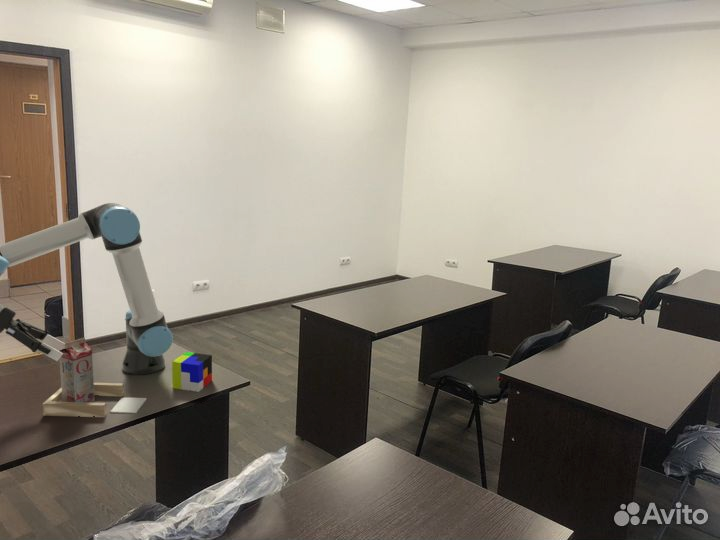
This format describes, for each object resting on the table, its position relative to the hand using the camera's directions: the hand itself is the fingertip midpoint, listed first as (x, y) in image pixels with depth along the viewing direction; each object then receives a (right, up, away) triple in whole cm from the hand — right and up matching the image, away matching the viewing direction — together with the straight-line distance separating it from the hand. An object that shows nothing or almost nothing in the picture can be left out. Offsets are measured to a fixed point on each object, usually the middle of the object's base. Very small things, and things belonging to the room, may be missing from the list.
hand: (62, 352), depth 171 cm
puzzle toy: (+34, -15, +24) cm, 44 cm away
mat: (+19, -18, +6) cm, 27 cm away
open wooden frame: (+5, -18, +5) cm, 19 cm away
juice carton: (+3, -18, +5) cm, 19 cm away
